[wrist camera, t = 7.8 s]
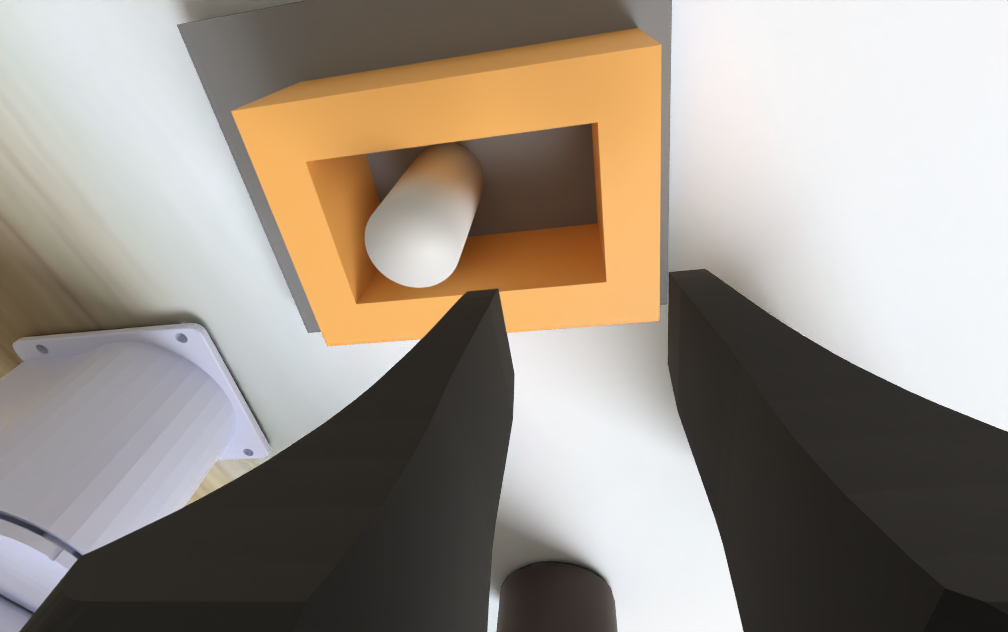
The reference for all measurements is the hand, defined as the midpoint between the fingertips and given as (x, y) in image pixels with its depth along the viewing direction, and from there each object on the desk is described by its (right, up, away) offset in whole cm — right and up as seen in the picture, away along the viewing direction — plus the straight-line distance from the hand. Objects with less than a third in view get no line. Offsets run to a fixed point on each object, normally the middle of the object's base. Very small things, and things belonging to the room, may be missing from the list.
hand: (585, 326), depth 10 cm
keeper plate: (-3, +5, +8) cm, 10 cm away
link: (-2, +5, +7) cm, 9 cm away
